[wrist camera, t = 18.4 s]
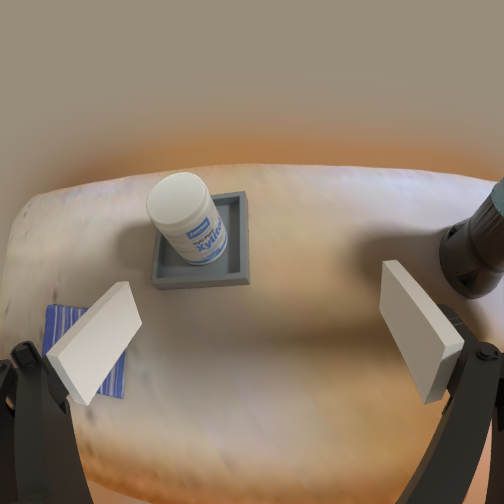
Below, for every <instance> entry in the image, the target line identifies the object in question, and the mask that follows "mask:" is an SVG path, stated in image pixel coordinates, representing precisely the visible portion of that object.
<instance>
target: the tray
mask: <svg viewBox="0 0 504 504" xmlns="http://www.w3.org/2000/svg"><path fill="white" fill-rule="evenodd" d="M210 196H211V198H212V200H213V202H214V205H215V207H216V209H217V211H218V213H219V216H220V218H221V220H222V222H223V224H224V227H225V229H226V232H227V245H226V248H225V250H224V251H223V253H222V254H221V255H220V257H219V258H217V259H216V260H215V261H213V262H211V263H208V264H205V265H194V264H191V263H188V262H187V261H185V260H184V259H183V258H182V257H181V256H180V254H179V253H178V252H177V251H176V250H175V249H174V247H173V246H172V245H171V244H170V243H169V241H168V240H167V239H166V238H165V237H164V236H163V234H162V233H161V232H160V231H159V230H158V228H157V235H156V242H155V250H154V258H153V267H152V276H151V285H153V286H154V287H156V288H157V289H159V290H163V289H183V288H201V287H218V286H233V285H248V284H250V271H249V229H248V200H247V196H246V193H245V191H242V192H233V193H225V194H217V195H210Z"/></svg>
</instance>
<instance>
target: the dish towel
mask: <svg viewBox="0 0 504 504" xmlns="http://www.w3.org/2000/svg"><path fill="white" fill-rule="evenodd" d="M89 309H90V308H75V307H69V306H62V305H55V304H54V305H48V306H47V310H46V324H45V334H44V341H43V351H42V357H43V356H44V355H45V354H46V353H47V352H48V351H49V350H50V348H51V347H52V346H53V345H54V344H55V343H57V341H58V340H59V339H60V338H61V337H62V336H63V335H64V334H65V333H66V331H67V330H69V329H70V328H71V327H72V326H73V325H74V324H75V323H76V322H77V321H78V320H79V319H80V318H81V317H82V316H83V315H84V314H85V313H86V312H87V311H88V310H89ZM126 353H127V347H126V348H125V349H124V351H123V352H122V354H121V355H120V357H119V358H118V360H117V361H116V363H115V364H114V366H113V367H112V369H111V370H110V372H109V373H108V375H107V376H106V378H105V380H104V381H103V383H102V384H101V386H100V387H99V389H98V390H97V392H96V393H100V394H102V395H107V396H111V397H117V398H121V399H122V398H123V393H124V380H125V368H126Z"/></svg>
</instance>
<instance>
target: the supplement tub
mask: <svg viewBox="0 0 504 504" xmlns="http://www.w3.org/2000/svg"><path fill="white" fill-rule="evenodd" d="M146 208H147V213H148V215H149V217H150V218H151V220H152V222H153V223H154V225H155V226H156V227H157V228H158V230H159V231H160V232H161V233H162V234H163V236H164V237H165V238H166V239H167V240H168V241H169V243H170V244H171V245H172V246H173V247H174V249H175V250H176V251H177V252H178V253H179V254H180V256H181V257H182V258H183V259H184V260H185V261H187V262H188V263H191V264H194V265H205V264H208V263H211V262H213V261H215V260H216V259H217V258H219V257H220V255H221V254H222V253H223V251H224V250H225V248H226V245H227V232H226V229H225V227H224V224H223V222H222V220H221V218H220V216H219V213H218V211H217V209H216V207H215V205H214V202H213V200H212V198H211V196H210V194H209V191H208V189H207V187H206V186H205V184H204V183H203V181H202V180H201V179H200V178H199V177H198V176H196V175H195V174H192V173H187V172H181V173H176V174H172V175H170V176H168V177H166V178H164V179H163V180H161V181H160V182H159V183H158V184H157V185H156V186H155V187H154V188H153V189H152V191H151V192H150V194H149V196H148V199H147V204H146Z"/></svg>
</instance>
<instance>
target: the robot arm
mask: <svg viewBox="0 0 504 504" xmlns="http://www.w3.org/2000/svg"><path fill="white" fill-rule="evenodd" d="M440 262H441V266H442V269H443V272H444V274H445V276H446V278H447V280H448V281H449V283H450V284H451V286H452V287H453V288H454V289H455V290H456V291H458V292H459V293H460V294H462V295H464V296H466V297H469V298H480V297H483V296H485V295H487V294H488V293H490V292H491V291H492V290H493V289H494V288H495V287H496V286H497V285H498V283H499V281H500V280H501V278H502V277H503V275H504V177H503V178H502V179H501V181H500V182H499V183H497V184H496V185H495V186H494V187H493V189H492V192H491V194H490V195H489V196H488V197H487V199H486V200H485V201H484V203H483V204H482V205H481V206H480V207H479V209H478V210H477V211H476V212H475V213H474V215H473V216H472V217H471V218H468V219H466V220H463V221H461V222H459V223H456V224H455V225H453V226H452V227H451V228H450V229H449V230H448V231H447V233H446V234H445V235H444V237H443V239H442V241H441V245H440ZM379 311H380V313H381V315H382V316H383V318H384V320H385V322H386V324H387V326H388V328H389V330H390V332H391V334H392V336H393V338H394V340H395V342H396V344H397V346H398V348H399V350H400V352H401V354H402V356H403V358H404V360H405V362H406V365H407V367H408V369H409V371H410V373H411V375H412V378H413V380H414V382H415V384H416V386H417V389H418V391H419V393H420V396H421V398H422V400H423V403H424V404H427V403H431V402H434V401H437V400H441V399H442V397H443V395H444V393H445V391H446V388H447V390H448V392H449V394H450V398H449V400H448V402H447V404H446V406H445V408H444V410H443V412H442V414H443V415H442V417H441V420H440V422H439V424H438V427H437V429H436V431H435V434H434V436H433V438H432V440H431V442H430V444H429V446H428V448H427V450H426V452H425V454H424V456H423V458H422V460H421V462H420V464H419V466H418V467H417V469H416V471H415V473H414V475H413V476H412V478H411V480H410V481H409V483H408V485H407V486H406V488H405V490H404V491H403V493H402V494H401V496H400V497H399V499H398V501H397V502H396V504H462V502H463V500H464V498H465V496H466V493H467V491H468V489H469V486H470V484H471V482H472V479H473V476H474V474H475V471H476V468H477V465H478V463H479V460H480V457H481V454H482V451H483V448H484V444H485V441H486V437H487V433H488V430H489V426H490V422H491V418H492V444H491V461H490V472H489V481H488V488H487V495H486V501H485V504H504V353H501V352H500V351H499V349H498V348H497V347H496V346H494V345H493V344H490V343H488V342H479V341H478V340H477V338H476V337H475V336H474V335H473V333H472V332H471V331H470V330H469V328H468V327H467V326H466V325H465V324H463V321H462V320H461V319H460V318H458V315H457V314H456V313H455V312H454V311H453V309H451V308H450V307H448V306H446V305H444V304H439V305H436V304H435V303H434V302H433V301H432V299H431V298H430V297H429V296H428V295H427V293H426V292H425V291H424V290H423V289H422V288H421V286H420V285H419V284H418V283H417V282H416V281H415V280H414V278H413V277H412V276H411V275H410V274H409V273H408V272H407V271H406V269H405V268H404V267H403V266H402V265H401V264H400V263H399V262H398V261H397V260H390V261H383V265H382V281H381V293H380V304H379ZM141 325H142V322H141V319H140V316H139V313H138V310H137V307H136V304H135V301H134V298H133V295H132V292H131V289H130V286H129V282H128V281H123V282H116V283H115V284H114V285H113V286H112V287H111V288H110V289H109V290H108V291H107V292H106V293H105V294H104V295H103V296H102V297H101V298H100V299H99V300H98V301H97V302H96V303H95V304H94V305H93V306H92V307H91V308H90V309H89V310H88V311H87V312H86V313H85V314H84V315H83V316H82V317H81V318H80V319H79V320H78V321H77V322H76V323H75V324H74V325H73V326H72V327H71V328H70V329H69V330H67V331H66V333H65V334H64V335H63V336H62V337H61V338H60V339H59V340H58V341H57V343H55V344H54V345H53V346H52V347H51V348H50V350H49V351H48V352H47V353H46V354H45V355H44V356H43V357H42V358H41V357H40V355H39V353H38V351H37V350H36V348H35V346H34V344H33V343H32V342H31V341H26V342H22V343H20V344H18V345H17V346H16V347H14V349H13V350H12V351H11V353H10V354H11V356H12V358H13V359H14V361H15V363H16V365H17V366H18V368H14V367H13V365H12V363H11V361H10V360H8V359H5V360H0V504H94V503H93V501H92V498H91V495H90V492H89V488H88V485H87V482H86V479H85V475H84V472H83V468H82V464H81V460H80V456H79V452H78V448H77V444H76V439H75V434H74V429H73V424H72V418H71V412H70V405H69V402H68V400H67V399H66V397H67V395H68V394H70V395H71V397H72V398H73V400H74V401H75V403H79V404H82V405H86V406H88V404H89V403H90V401H91V400H92V398H93V397H94V395H95V393H96V392H97V390H98V389H99V387H100V386H101V384H102V383H103V381H104V380H105V378H106V376H107V375H108V373H109V372H110V370H111V369H112V367H113V366H114V364H115V363H116V361H117V360H118V358H119V357H120V355H121V354H122V352H123V351H124V349H125V348H126V347H127V345H128V344H129V342H130V341H131V339H132V338H133V336H134V335H135V333H136V332H137V331H138V329H139V328H140V326H141ZM6 397H7V398H8V399H9V400H10V402H11V403H12V404H13V408H12V409H11V408H10V407H9V406H8V404H7V403H6Z"/></svg>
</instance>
